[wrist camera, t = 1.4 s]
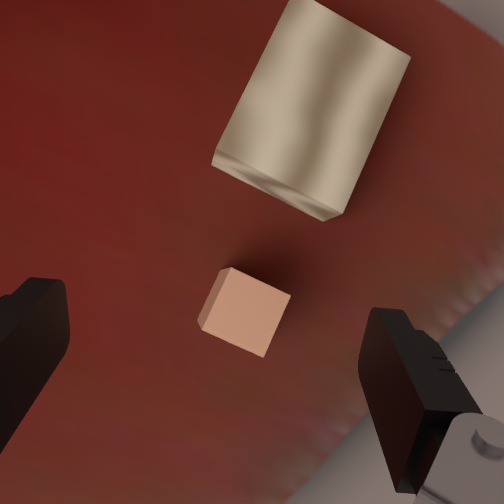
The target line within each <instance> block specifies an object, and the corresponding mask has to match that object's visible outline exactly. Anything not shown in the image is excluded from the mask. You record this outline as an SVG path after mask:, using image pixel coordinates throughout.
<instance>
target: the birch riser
mask: <svg viewBox="0 0 504 504" xmlns="http://www.w3.org/2000/svg"><path fill="white" fill-rule="evenodd" d="M410 59H411V57H410V56H409V55H407V54H405V53H403V52H402V51H400V50H398V49H396V48H395V47H393V46H391V45H390V44H388V43H386V42H384V41H383V40H381V39H379V38H378V37H376V36H374V35H372V34H371V33H369V32H367V31H365V30H364V29H362V28H360V27H359V26H357V25H355V24H353V23H352V22H350V21H348V20H346V19H345V18H343V17H341V16H340V15H338V14H336V13H334V12H333V11H331V10H329V9H328V8H326V7H324V6H322V5H321V4H319V3H317V2H315V1H314V0H289V2H288V4H287V6H286V8H285V10H284V12H283V14H282V16H281V18H280V20H279V22H278V24H277V26H276V28H275V30H274V32H273V34H272V36H271V38H270V40H269V42H268V44H267V46H266V48H265V50H264V52H263V54H262V56H261V58H260V60H259V62H258V64H257V66H256V68H255V71H254V73H253V75H252V77H251V79H250V81H249V83H248V85H247V87H246V89H245V91H244V93H243V95H242V97H241V99H240V101H239V103H238V105H237V107H236V109H235V111H234V113H233V115H232V117H231V119H230V121H229V123H228V125H227V127H226V129H225V131H224V133H223V135H222V137H221V139H220V141H219V143H218V145H217V147H216V150H215V154H214V157H213V161H212V164H211V165H212V166H214V167H216V168H218V169H220V170H222V171H224V172H226V173H228V174H230V175H232V176H234V177H236V178H238V179H240V180H242V181H244V182H246V183H248V184H250V185H252V186H254V187H256V188H258V189H260V190H262V191H263V192H265V193H267V194H269V195H271V196H273V197H275V198H277V199H279V200H281V201H283V202H285V203H287V204H289V205H291V206H293V207H295V208H297V209H299V210H301V211H303V212H305V213H307V214H309V215H311V216H313V217H315V218H317V219H319V220H321V221H323V222H324V221H326V220H328V219H331V218H333V217H336V216H338V215H340V214H343V212H344V210H345V207H346V205H347V203H348V200H349V198H350V196H351V194H352V191H353V189H354V187H355V184H356V182H357V180H358V178H359V175H360V173H361V171H362V168H363V166H364V164H365V162H366V159H367V157H368V155H369V152H370V150H371V148H372V145H373V143H374V141H375V139H376V136H377V134H378V132H379V129H380V127H381V125H382V123H383V120H384V118H385V116H386V113H387V111H388V109H389V107H390V104H391V102H392V100H393V97H394V95H395V93H396V91H397V88H398V86H399V84H400V81H401V79H402V77H403V75H404V72H405V70H406V68H407V65H408V63H409V61H410Z"/></svg>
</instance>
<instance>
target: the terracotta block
mask: <svg viewBox="0 0 504 504" xmlns="http://www.w3.org/2000/svg"><path fill="white" fill-rule="evenodd" d="M289 299H290V295H288V294H286V293H284V292H282V291H280V290H278V289H276V288H274V287H272V286H269V285H267V284H265V283H263V282H261V281H259V280H257V279H255V278H253V277H251V276H248V275H246V274H244V273H242V272H240V271H238V270H236V269H234V268H232V267H230V268H227V269H223V270H220V272H219V275H218V277H217V279H216V281H215V283H214V285H213V287H212V289H211V292H210V294H209V296H208V298H207V300H206V302H205V304H204V306H203V308H202V311H201V313H200V315H199V317H198V319H197V321H198V323H199V325H200V327H201V329H202V330H203V331H205V332H208V333H210V334H212V335H214V336H217V337H219V338H221V339H223V340H225V341H228V342H230V343H232V344H234V345H236V346H239V347H241V348H243V349H245V350H248V351H250V352H252V353H254V354H256V355H259V356H261V357H264V355H265V353H266V351H267V348H268V346H269V344H270V342H271V339H272V337H273V335H274V333H275V330H276V328H277V326H278V324H279V321H280V319H281V317H282V315H283V312H284V310H285V308H286V305H287V303H288V301H289Z"/></svg>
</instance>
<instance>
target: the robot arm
mask: <svg viewBox="0 0 504 504" xmlns="http://www.w3.org/2000/svg"><path fill="white" fill-rule="evenodd" d="M69 339H70V325H69V316H68V306H67V297H66V288H65V284H64V282H63V281H62V280H57V279H46V278H34V277H31V278H28V279H27V280H26V281H25V282H24V283H23V284H22V285H21V286H20V287H19V288H18V289H17V290H16V291H15V292H14V293H13V294H11V295H4V296H2V297H0V454H1V452H2V451H3V449H4V447H5V446H6V444H7V443H8V441H9V440H10V438H11V437H12V435H13V433H14V432H15V430H16V429H17V427H18V426H19V424H20V423H21V421H22V420H23V418H24V416H25V415H26V413H27V412H28V410H29V409H30V407H31V406H32V404H33V403H34V401H35V399H36V398H37V396H38V395H39V393H40V392H41V390H42V389H43V387H44V386H45V384H46V382H47V381H48V379H49V378H50V376H51V375H52V373H53V372H54V370H55V369H56V367H57V365H58V364H59V362H60V361H61V359H62V358H63V356H64V354H65V353H66V350H67V348H68V344H69ZM358 373H359V378H360V382H361V385H362V388H363V391H364V394H365V397H366V401H367V404H368V407H369V410H370V413H371V416H372V419H373V422H374V426H375V429H376V432H377V435H378V438H379V441H380V444H381V447H382V450H383V454H384V457H385V459H386V463H387V466H388V469H389V472H390V475H391V479H392V481H393V485H394V488H395V491H396V492H397V493H410V494H416V499H415V501H414V503H413V504H504V424H503V423H502V422H500V421H498V420H496V419H494V418H491V417H489V416H485V415H483V413H482V412H481V410H480V408H479V407H478V405H477V404H476V402H475V401H474V399H473V397H472V396H471V394H470V393H469V391H468V389H467V388H466V387H465V385H464V383H463V382H462V380H461V379H460V377H459V375H458V374H457V373H455V369H454V368H453V366H452V364H451V363H450V361H447V357H446V355H445V353H444V352H443V350H442V349H441V347H440V345H439V344H438V343H437V342H436V341H435V340H433V339H432V338H431V337H430V336H429V335H427V334H426V333H425V332H424V331H423V330H415V329H414V327H413V325H412V324H411V322H410V320H409V319H408V317H407V315H406V313H405V312H404V311H403V310H400V309H388V308H376V307H374V308H372V309H371V311H370V314H369V317H368V321H367V325H366V329H365V333H364V337H363V341H362V345H361V349H360V354H359V360H358Z"/></svg>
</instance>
